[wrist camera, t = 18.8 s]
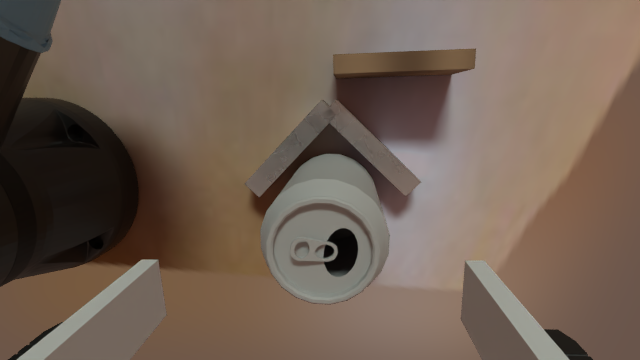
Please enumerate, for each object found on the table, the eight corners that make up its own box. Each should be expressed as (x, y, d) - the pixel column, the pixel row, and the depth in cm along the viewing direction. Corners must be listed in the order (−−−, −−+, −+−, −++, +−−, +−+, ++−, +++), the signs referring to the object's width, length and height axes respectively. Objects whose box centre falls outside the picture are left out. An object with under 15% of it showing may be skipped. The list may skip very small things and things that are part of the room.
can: (366, 242, 31) (376, 330, 19) (283, 226, 31) (243, 302, 19) (384, 160, 29) (408, 201, 17) (296, 144, 29) (262, 173, 17)
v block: (253, 189, 30) (245, 197, 28) (247, 102, 29) (237, 102, 26) (414, 188, 29) (420, 196, 27) (417, 97, 27) (424, 96, 25)
